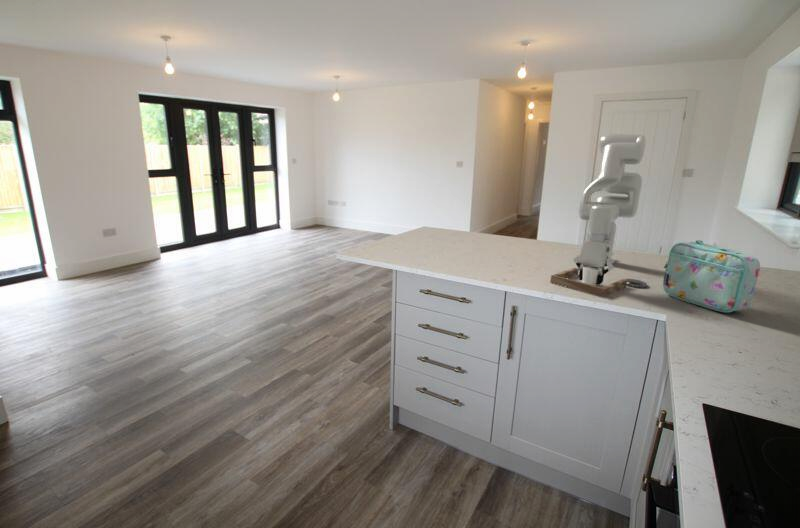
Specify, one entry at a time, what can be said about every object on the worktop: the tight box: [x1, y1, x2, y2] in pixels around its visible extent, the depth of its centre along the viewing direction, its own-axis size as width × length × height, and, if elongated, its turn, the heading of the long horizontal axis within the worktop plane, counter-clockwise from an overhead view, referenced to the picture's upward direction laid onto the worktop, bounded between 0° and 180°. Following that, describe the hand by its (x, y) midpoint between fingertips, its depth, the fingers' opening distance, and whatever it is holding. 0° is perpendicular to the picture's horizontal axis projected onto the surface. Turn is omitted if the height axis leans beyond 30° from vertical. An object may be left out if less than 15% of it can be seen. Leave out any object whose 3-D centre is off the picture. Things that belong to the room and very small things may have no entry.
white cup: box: [581, 265, 599, 286], centre depth 160 cm, size 7×7×7 cm
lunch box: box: [662, 239, 761, 313], centre depth 140 cm, size 27×10×21 cm, turn 22°
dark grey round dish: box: [625, 278, 648, 289], centre depth 162 cm, size 9×9×1 cm
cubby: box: [550, 267, 627, 298], centre depth 160 cm, size 20×21×3 cm
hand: (590, 281), depth 161 cm, fingers closed on white cup, 6 cm apart
